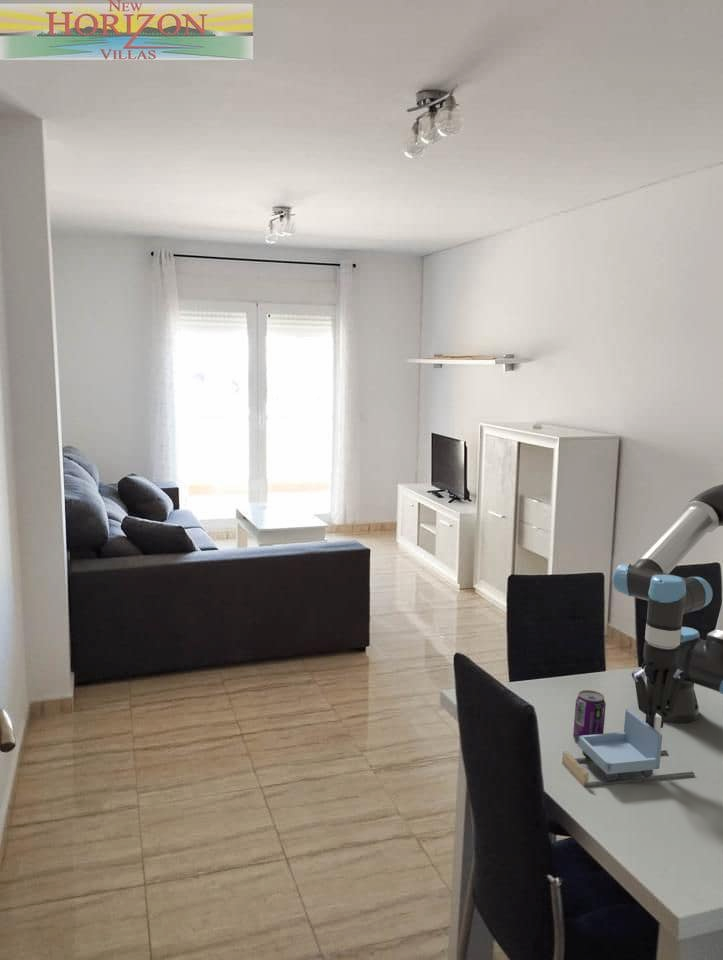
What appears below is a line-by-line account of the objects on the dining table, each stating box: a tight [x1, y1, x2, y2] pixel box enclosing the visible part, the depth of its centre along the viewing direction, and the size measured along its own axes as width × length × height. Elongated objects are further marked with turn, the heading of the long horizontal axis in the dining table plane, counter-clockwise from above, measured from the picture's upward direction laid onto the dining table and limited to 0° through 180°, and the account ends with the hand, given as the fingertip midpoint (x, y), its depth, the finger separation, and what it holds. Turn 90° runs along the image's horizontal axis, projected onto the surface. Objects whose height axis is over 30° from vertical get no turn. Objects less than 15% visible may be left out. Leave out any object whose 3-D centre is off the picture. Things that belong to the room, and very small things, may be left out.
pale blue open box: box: [577, 709, 663, 781], centre depth 174 cm, size 13×13×10 cm
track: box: [561, 749, 695, 788], centre depth 175 cm, size 28×11×3 cm, turn 103°
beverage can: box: [572, 689, 607, 742], centre depth 187 cm, size 7×7×12 cm
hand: (652, 740), depth 175 cm, fingers closed
